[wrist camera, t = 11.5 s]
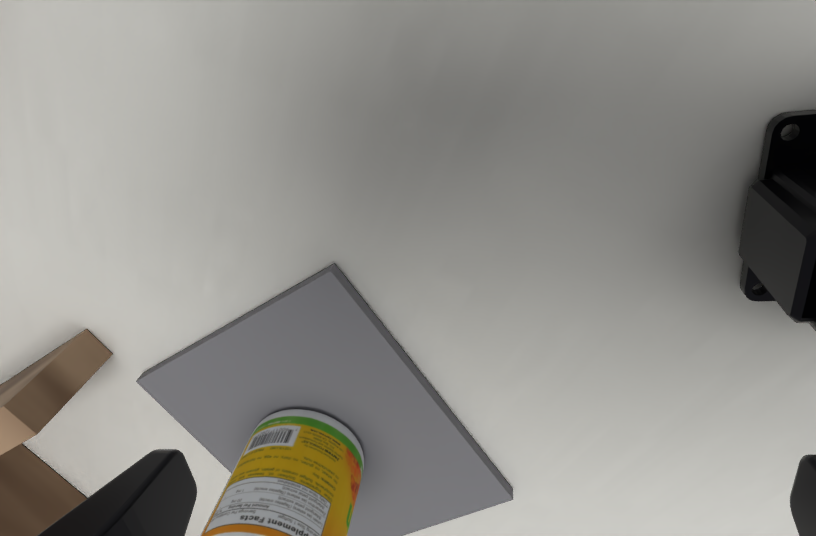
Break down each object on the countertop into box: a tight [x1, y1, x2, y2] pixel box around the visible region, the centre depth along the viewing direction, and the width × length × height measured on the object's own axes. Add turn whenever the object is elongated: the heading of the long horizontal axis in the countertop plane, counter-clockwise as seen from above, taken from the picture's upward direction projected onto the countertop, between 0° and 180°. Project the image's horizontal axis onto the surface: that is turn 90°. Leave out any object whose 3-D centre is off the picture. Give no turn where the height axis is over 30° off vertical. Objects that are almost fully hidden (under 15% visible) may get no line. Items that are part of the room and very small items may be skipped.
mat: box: [136, 264, 513, 536], centre depth 26 cm, size 12×14×1 cm
